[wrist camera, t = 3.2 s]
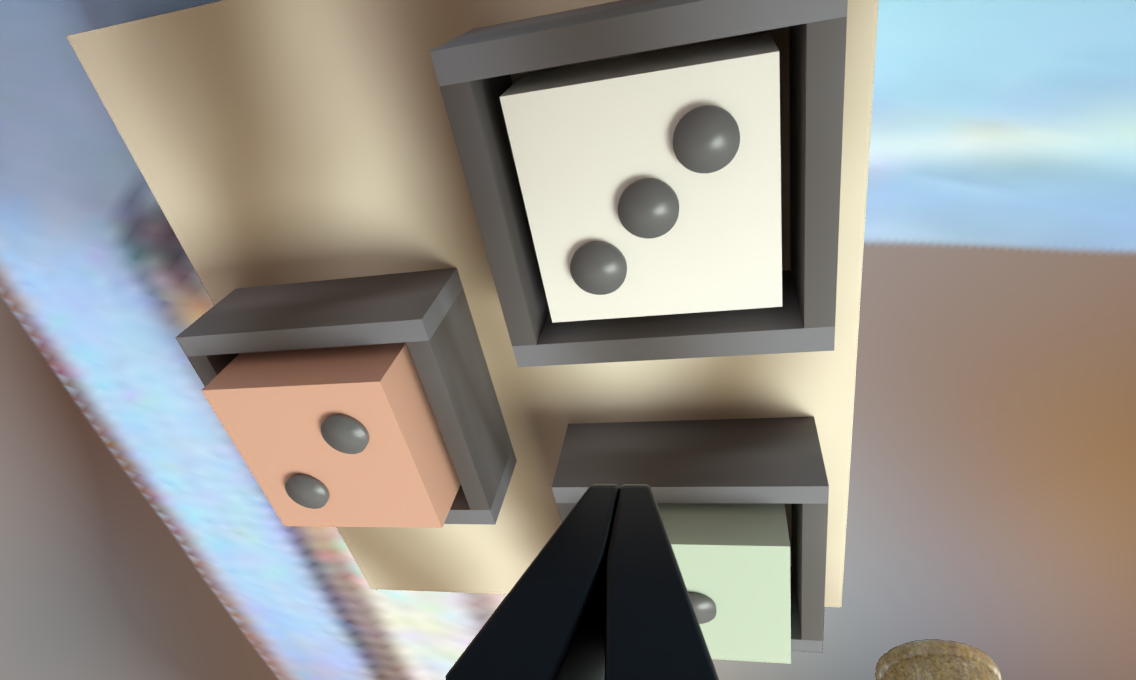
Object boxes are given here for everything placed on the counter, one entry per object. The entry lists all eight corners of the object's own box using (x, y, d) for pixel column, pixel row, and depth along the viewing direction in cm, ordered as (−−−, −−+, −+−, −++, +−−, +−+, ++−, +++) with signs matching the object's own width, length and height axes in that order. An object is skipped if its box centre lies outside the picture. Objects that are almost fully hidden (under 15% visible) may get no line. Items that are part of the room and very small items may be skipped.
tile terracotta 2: (411, 334, 16) (377, 385, 15) (464, 475, 19) (440, 532, 17) (247, 345, 18) (197, 394, 16) (318, 476, 20) (281, 529, 19)
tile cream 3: (769, 32, 12) (779, 52, 11) (774, 263, 15) (782, 310, 13) (524, 73, 14) (497, 98, 12) (567, 280, 16) (551, 326, 15)
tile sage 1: (782, 485, 17) (790, 551, 15) (783, 601, 20) (791, 668, 18) (598, 486, 18) (587, 547, 17) (623, 594, 21) (615, 657, 19)
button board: (863, -145, 13) (931, -166, 9) (831, 558, 24) (856, 682, 20) (127, 23, 17) (-37, 57, 13) (390, 548, 28) (341, 648, 24)
